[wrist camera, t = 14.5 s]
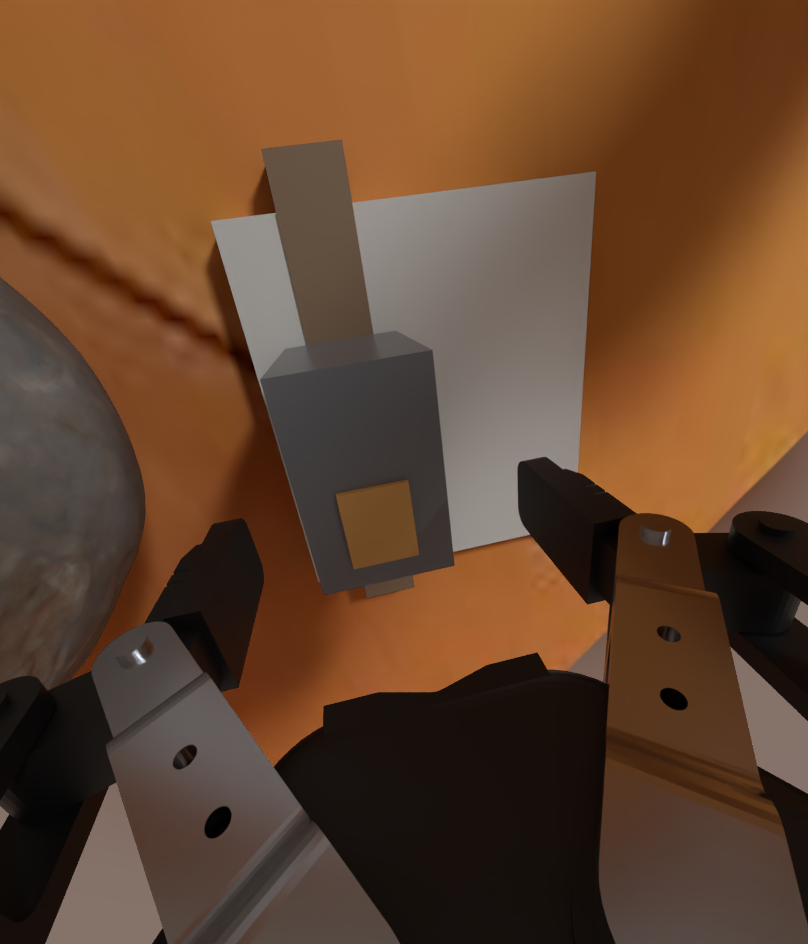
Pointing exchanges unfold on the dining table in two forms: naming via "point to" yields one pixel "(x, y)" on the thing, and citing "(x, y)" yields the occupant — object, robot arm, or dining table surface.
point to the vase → (58, 499)
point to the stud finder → (364, 456)
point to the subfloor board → (433, 310)
